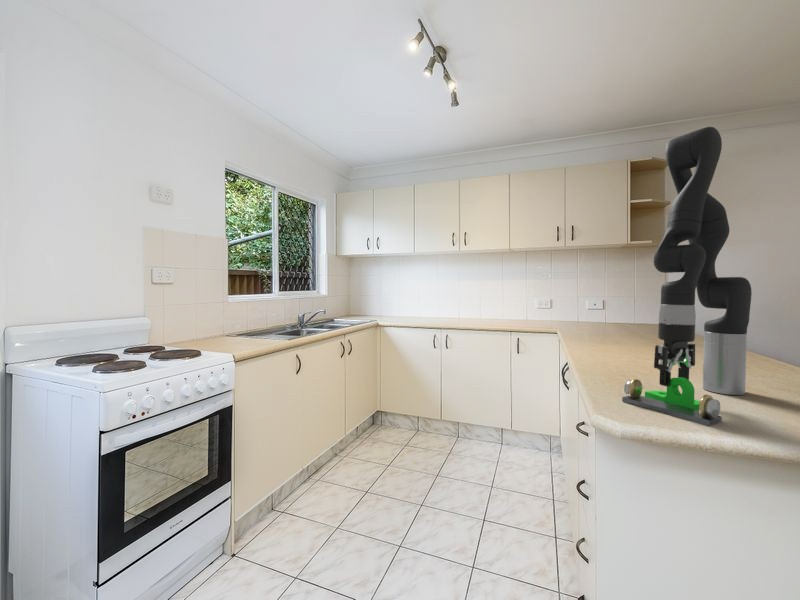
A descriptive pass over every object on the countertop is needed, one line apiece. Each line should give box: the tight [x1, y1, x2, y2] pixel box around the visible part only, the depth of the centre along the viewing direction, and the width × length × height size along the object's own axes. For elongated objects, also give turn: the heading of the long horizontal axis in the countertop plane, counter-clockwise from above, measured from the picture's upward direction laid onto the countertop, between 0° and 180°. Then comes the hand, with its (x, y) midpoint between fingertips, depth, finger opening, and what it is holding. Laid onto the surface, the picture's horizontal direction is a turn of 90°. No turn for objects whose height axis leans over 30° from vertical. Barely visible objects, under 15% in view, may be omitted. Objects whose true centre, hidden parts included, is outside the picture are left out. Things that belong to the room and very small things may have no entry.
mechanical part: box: [644, 377, 700, 410], centre depth 93 cm, size 12×6×8 cm, turn 11°
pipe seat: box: [621, 378, 723, 427], centre depth 88 cm, size 6×19×6 cm, turn 26°
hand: (674, 384), depth 93 cm, fingers open, 8 cm apart
